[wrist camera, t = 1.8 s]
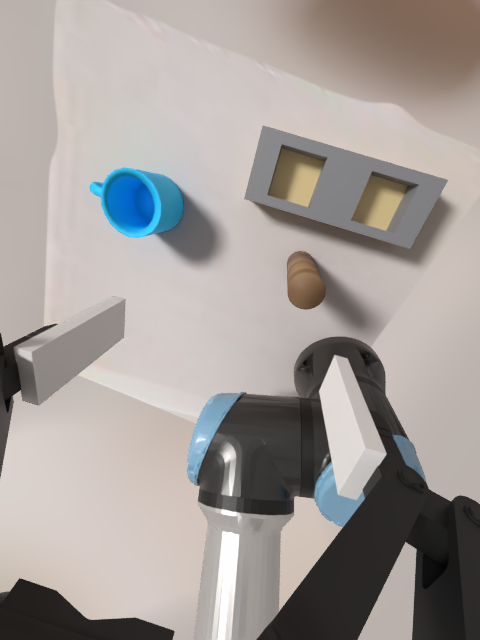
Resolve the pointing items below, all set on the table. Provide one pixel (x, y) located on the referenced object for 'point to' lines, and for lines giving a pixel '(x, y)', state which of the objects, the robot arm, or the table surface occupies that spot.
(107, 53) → the table surface
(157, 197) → the mug
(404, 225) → the rail
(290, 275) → the peg
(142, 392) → the table surface
